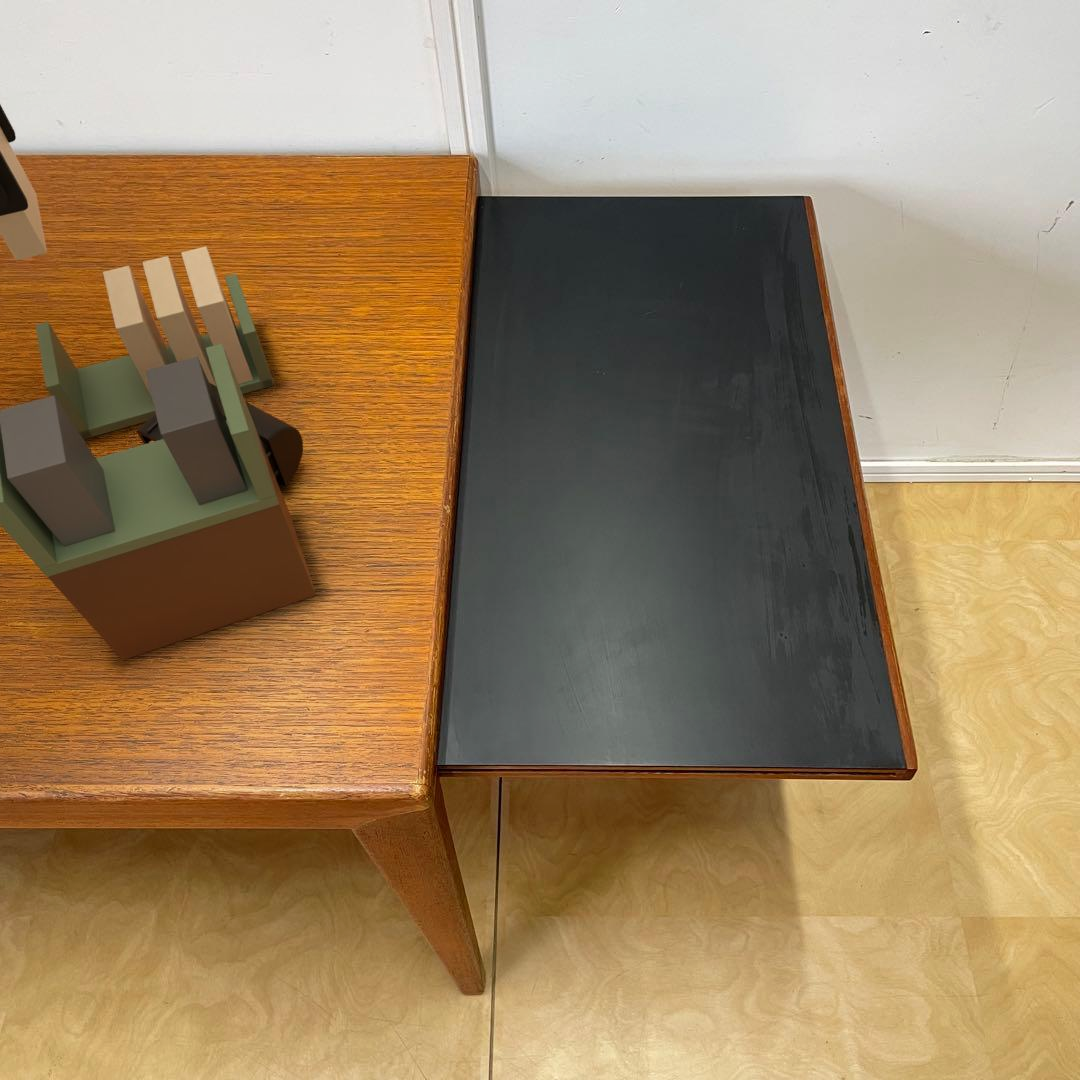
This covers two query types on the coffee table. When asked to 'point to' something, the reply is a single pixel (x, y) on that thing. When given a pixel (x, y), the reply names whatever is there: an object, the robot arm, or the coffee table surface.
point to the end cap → (273, 433)
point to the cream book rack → (154, 344)
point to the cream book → (22, 214)
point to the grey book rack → (155, 513)
